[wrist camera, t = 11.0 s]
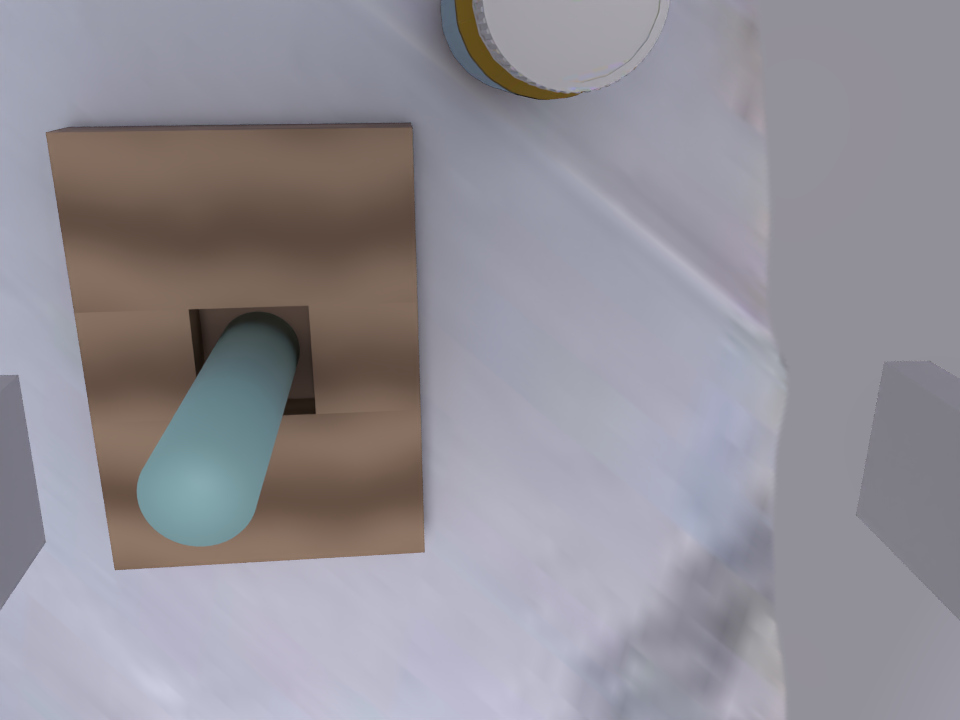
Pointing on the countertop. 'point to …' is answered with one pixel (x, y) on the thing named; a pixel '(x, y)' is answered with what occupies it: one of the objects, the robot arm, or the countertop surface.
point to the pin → (222, 435)
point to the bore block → (252, 288)
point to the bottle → (551, 42)
